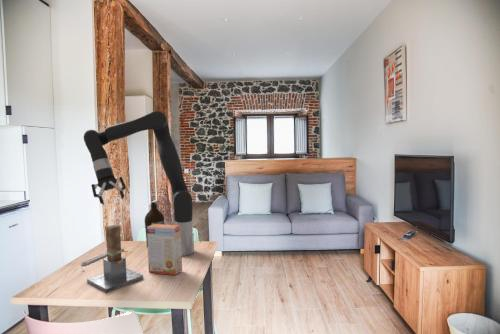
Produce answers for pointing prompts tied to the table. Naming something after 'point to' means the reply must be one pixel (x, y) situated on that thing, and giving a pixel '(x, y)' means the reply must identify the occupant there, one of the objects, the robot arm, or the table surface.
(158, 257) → the cracker box
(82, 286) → the table surface
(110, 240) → the post
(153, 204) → the olive oil
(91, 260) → the adjustable wrench
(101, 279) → the stand
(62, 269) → the table surface
